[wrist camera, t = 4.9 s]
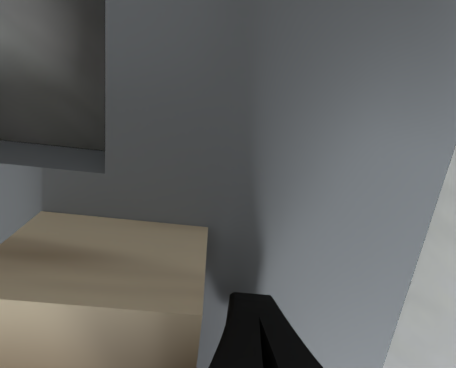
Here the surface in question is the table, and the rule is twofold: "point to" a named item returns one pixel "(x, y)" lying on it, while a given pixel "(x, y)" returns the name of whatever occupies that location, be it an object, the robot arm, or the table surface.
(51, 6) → the table surface
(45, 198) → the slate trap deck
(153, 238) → the beech block
